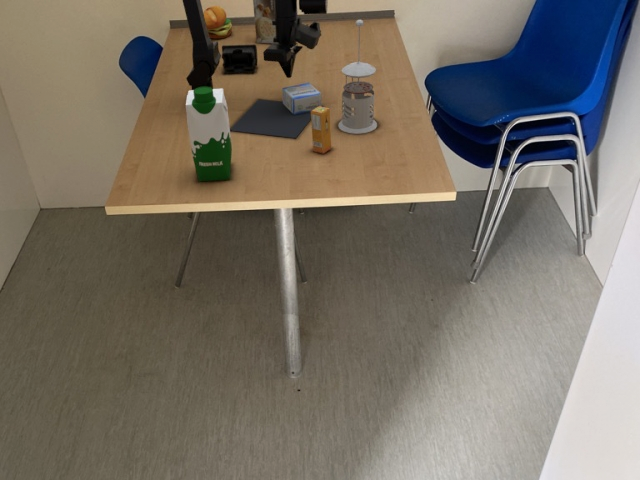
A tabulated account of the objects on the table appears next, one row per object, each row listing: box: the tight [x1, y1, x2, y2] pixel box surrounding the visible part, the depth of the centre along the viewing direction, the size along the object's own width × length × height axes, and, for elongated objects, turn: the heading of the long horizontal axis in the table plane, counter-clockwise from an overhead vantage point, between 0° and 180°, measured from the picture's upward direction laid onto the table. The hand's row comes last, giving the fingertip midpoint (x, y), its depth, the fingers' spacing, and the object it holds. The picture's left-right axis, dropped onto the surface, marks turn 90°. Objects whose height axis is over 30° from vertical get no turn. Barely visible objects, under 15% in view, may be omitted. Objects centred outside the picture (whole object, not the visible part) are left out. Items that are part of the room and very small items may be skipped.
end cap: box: [221, 44, 258, 75], centre depth 201 cm, size 10×7×7 cm
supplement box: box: [310, 106, 332, 155], centre depth 158 cm, size 3×3×10 cm
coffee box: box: [252, 0, 279, 45], centre depth 215 cm, size 9×6×16 cm
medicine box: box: [281, 82, 323, 115], centre depth 178 cm, size 8×4×9 cm
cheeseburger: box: [203, 5, 233, 39], centre depth 225 cm, size 10×11×10 cm
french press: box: [337, 19, 378, 135], centre depth 162 cm, size 10×12×25 cm
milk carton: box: [185, 87, 233, 182], centre depth 148 cm, size 9×9×20 cm
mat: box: [230, 98, 311, 140], centre depth 176 cm, size 20×18×1 cm
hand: (289, 77), depth 178 cm, fingers closed
